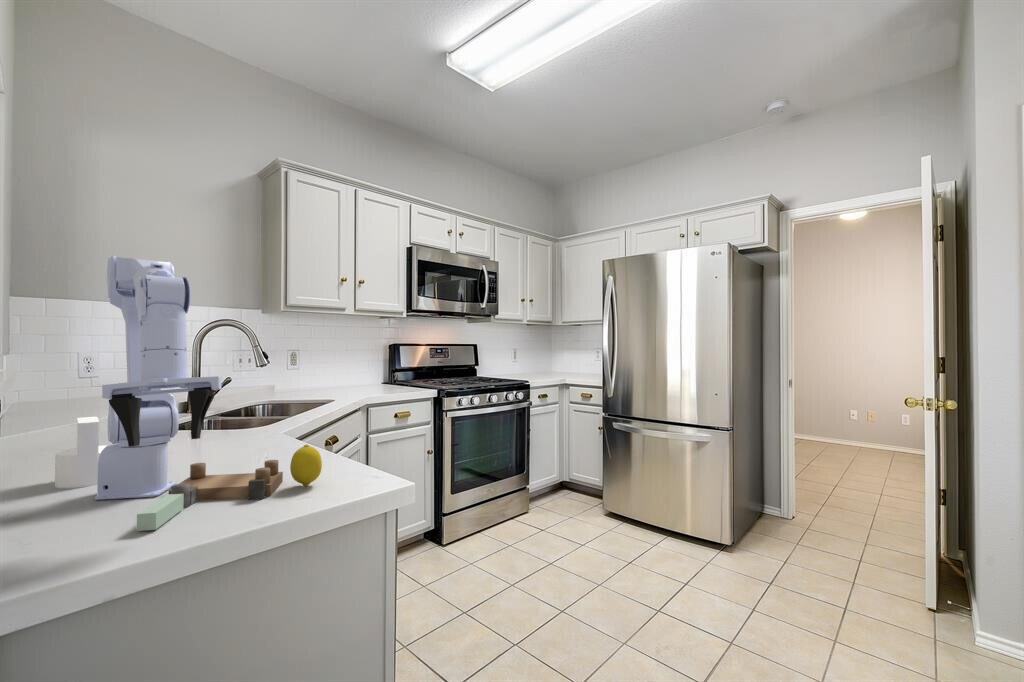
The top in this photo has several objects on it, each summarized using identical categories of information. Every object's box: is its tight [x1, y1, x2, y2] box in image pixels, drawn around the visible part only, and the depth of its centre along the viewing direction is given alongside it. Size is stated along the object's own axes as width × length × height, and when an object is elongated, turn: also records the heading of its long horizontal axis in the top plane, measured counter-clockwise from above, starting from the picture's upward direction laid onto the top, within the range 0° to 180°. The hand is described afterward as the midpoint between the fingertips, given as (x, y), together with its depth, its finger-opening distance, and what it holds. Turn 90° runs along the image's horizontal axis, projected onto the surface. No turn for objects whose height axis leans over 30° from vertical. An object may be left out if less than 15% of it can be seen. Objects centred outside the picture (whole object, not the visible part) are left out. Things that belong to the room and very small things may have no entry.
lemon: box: [289, 444, 323, 487], centre depth 91 cm, size 6×6×8 cm
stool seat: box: [168, 459, 284, 509], centre depth 85 cm, size 16×13×4 cm
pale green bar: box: [136, 493, 184, 532], centre depth 72 cm, size 9×2×2 cm, turn 14°
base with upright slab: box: [54, 416, 107, 489], centre depth 93 cm, size 9×9×12 cm
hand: (165, 442), depth 70 cm, fingers open, 7 cm apart
